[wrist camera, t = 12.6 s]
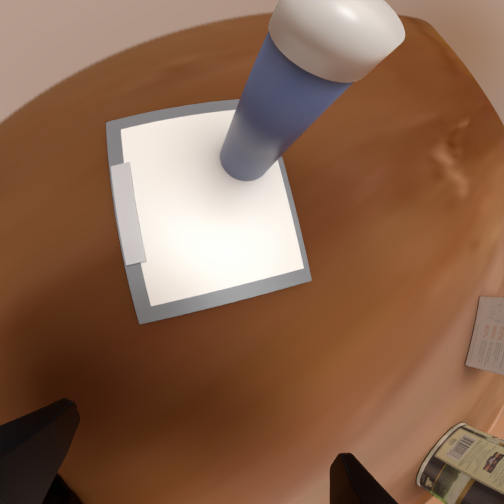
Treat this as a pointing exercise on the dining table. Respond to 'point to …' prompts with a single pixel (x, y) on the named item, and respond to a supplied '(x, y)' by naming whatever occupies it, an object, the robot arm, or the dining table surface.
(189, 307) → the clipboard
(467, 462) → the coffee can
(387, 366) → the dining table surface
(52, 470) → the robot arm
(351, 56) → the marker
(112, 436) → the dining table surface
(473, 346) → the small box
